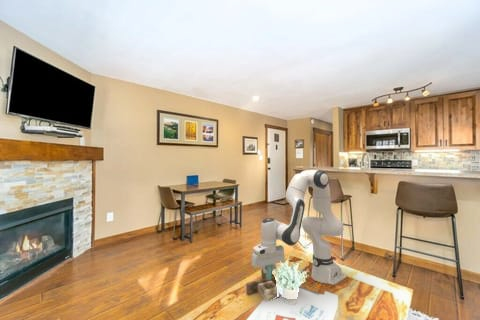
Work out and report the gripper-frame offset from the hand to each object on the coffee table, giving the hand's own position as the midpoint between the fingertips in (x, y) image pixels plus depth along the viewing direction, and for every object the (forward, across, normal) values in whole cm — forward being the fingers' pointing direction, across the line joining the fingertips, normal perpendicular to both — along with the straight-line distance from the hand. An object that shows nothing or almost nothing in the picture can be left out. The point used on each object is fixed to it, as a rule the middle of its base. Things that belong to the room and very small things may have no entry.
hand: (268, 271), depth 126 cm
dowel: (+4, 0, 0) cm, 4 cm away
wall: (+13, 0, -6) cm, 14 cm away
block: (+13, 0, 0) cm, 13 cm away
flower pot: (+13, -8, -13) cm, 20 cm away
